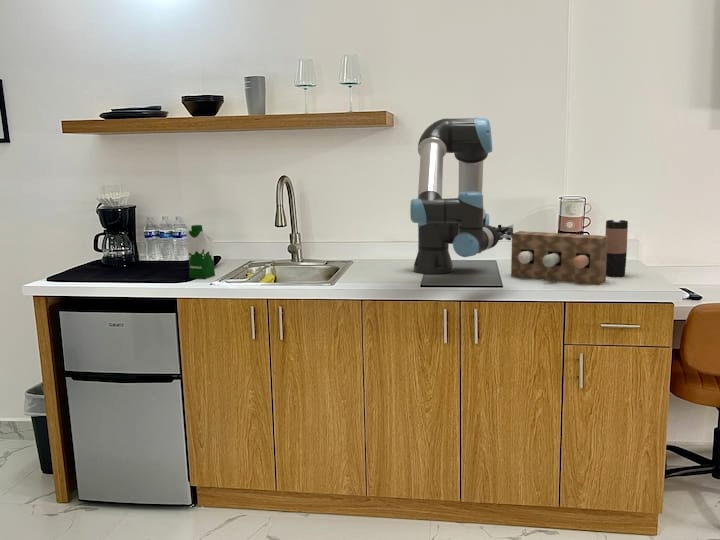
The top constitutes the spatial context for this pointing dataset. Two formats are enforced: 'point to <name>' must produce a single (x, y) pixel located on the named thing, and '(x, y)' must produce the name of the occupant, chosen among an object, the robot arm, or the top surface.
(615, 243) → the travel mug
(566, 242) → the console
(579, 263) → the terracotta button
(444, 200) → the robot arm
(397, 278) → the top surface
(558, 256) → the sage button
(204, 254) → the milk carton
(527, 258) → the cream button
